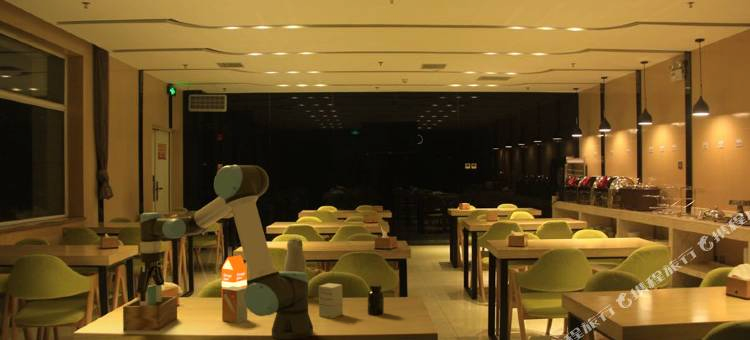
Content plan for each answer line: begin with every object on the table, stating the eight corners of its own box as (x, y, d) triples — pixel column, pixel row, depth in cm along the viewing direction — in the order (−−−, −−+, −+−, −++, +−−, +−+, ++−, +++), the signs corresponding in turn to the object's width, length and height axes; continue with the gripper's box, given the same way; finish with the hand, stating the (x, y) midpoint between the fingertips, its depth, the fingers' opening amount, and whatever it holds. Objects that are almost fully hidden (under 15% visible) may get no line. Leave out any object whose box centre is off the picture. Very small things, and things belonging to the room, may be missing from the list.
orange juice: (246, 297, 277) (246, 255, 277) (233, 301, 270) (233, 258, 270) (235, 295, 281) (235, 254, 281) (221, 299, 274) (221, 256, 274)
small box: (221, 320, 234) (221, 288, 234) (233, 317, 239) (232, 285, 239) (237, 323, 230) (236, 290, 230) (247, 319, 235) (247, 287, 235)
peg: (158, 321, 229) (157, 286, 229) (147, 323, 226) (147, 287, 226) (154, 319, 232) (154, 284, 232) (144, 321, 229) (144, 286, 230)
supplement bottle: (364, 314, 242) (364, 285, 242) (372, 311, 248) (372, 283, 248) (379, 316, 239) (379, 287, 239) (386, 312, 245) (386, 284, 245)
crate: (177, 318, 238) (177, 296, 238) (159, 330, 220) (159, 306, 220) (143, 318, 238) (143, 296, 238) (123, 330, 220) (123, 306, 220)
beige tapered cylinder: (309, 295, 282) (308, 237, 282) (300, 299, 272) (300, 239, 272) (290, 293, 284) (290, 236, 285) (281, 298, 275) (281, 239, 275)
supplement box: (328, 312, 246) (328, 282, 247) (343, 314, 243) (343, 284, 243) (318, 316, 240) (318, 285, 240) (333, 318, 236) (332, 287, 236)
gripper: (154, 247, 242) (154, 298, 242) (127, 256, 217) (127, 313, 217) (172, 247, 242) (172, 298, 242) (146, 256, 217) (147, 313, 217)
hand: (151, 305), depth 229 cm, fingers open, 13 cm apart
